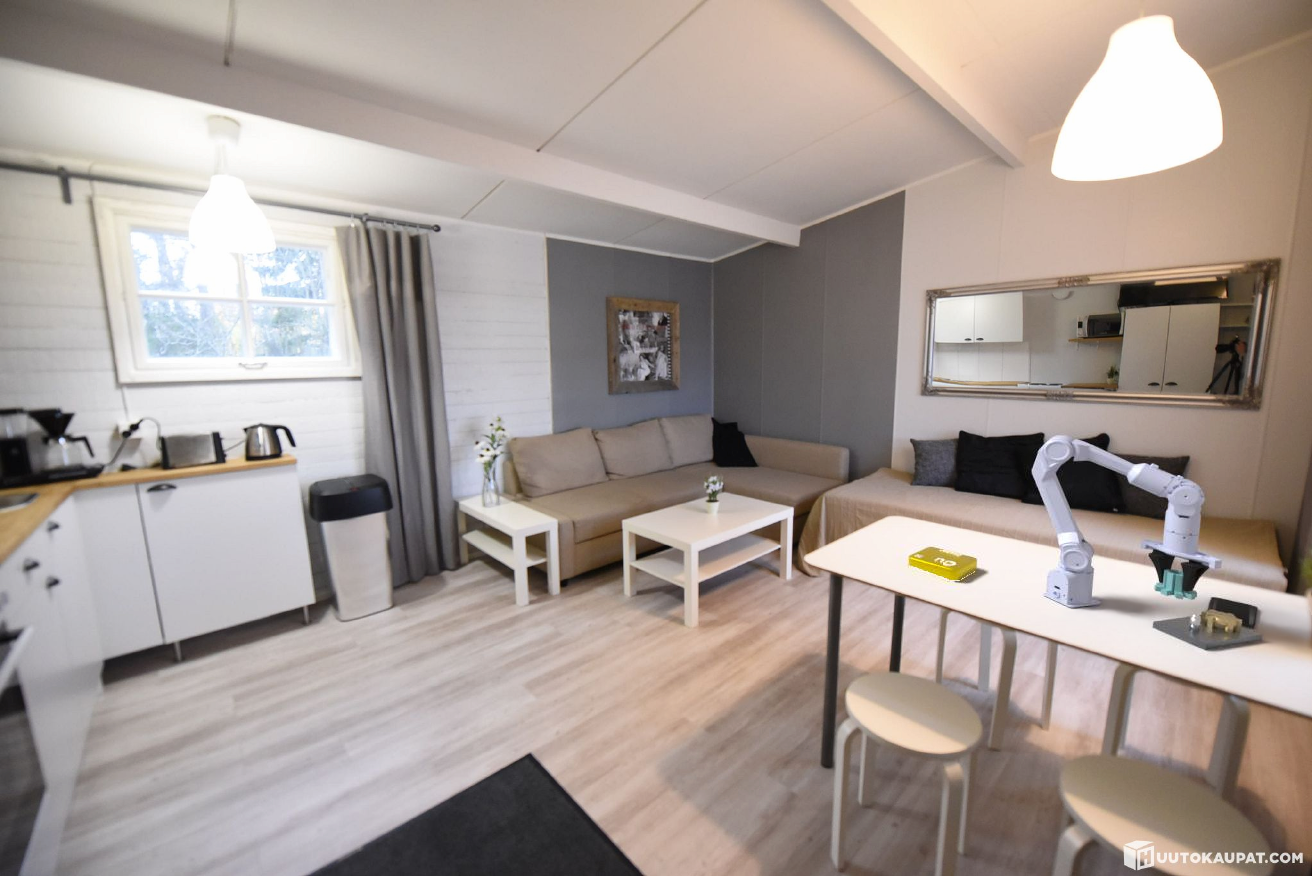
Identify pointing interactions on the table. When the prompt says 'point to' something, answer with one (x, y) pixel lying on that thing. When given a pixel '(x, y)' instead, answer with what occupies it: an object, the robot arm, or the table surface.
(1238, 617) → the phone
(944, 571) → the element tile
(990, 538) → the table surface
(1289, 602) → the table surface
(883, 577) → the table surface
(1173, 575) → the gear
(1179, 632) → the carrier
